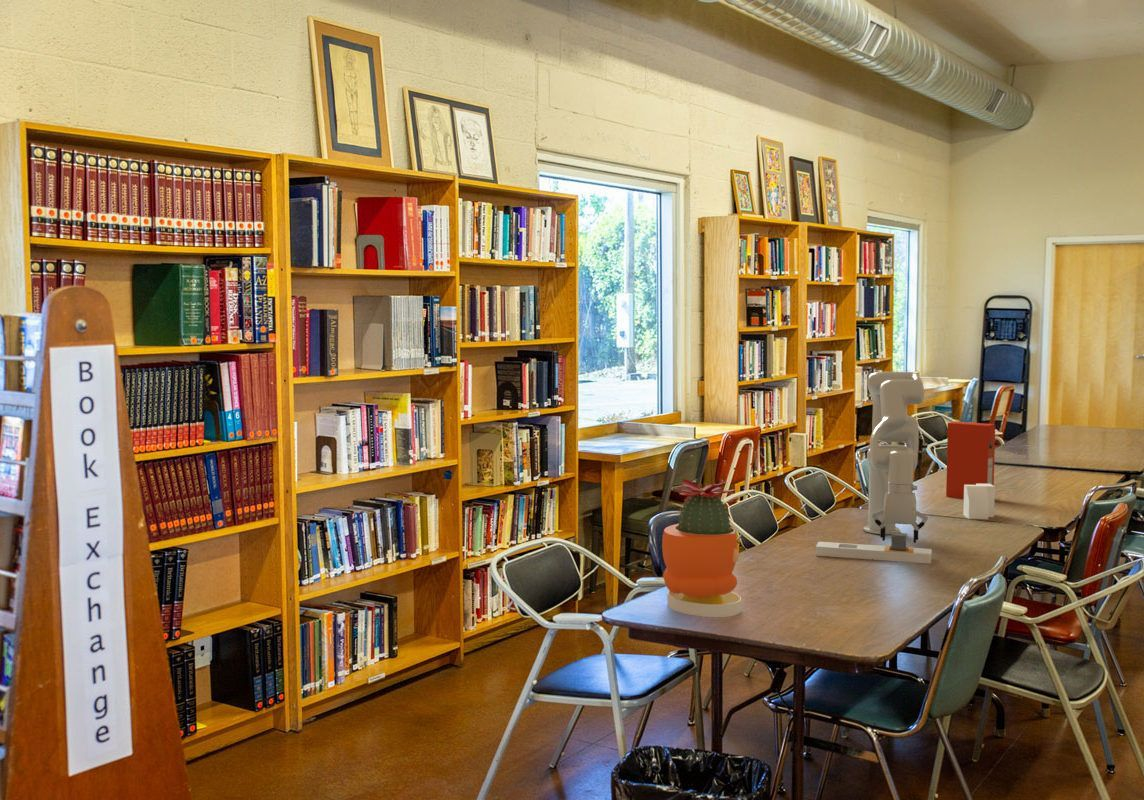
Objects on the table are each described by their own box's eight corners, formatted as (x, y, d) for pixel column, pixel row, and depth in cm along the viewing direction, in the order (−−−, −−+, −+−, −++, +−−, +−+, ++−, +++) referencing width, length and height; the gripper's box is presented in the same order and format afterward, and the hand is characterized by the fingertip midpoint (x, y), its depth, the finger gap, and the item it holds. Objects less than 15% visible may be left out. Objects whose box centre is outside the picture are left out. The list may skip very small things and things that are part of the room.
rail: (818, 550, 364) (818, 540, 364) (931, 558, 353) (931, 548, 352) (815, 555, 357) (815, 545, 357) (931, 563, 345) (931, 553, 345)
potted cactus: (690, 594, 309) (691, 472, 306) (756, 608, 294) (758, 480, 291) (641, 609, 294) (642, 480, 291) (708, 625, 278) (709, 490, 275)
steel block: (892, 556, 355) (892, 532, 354) (906, 557, 353) (906, 533, 353) (891, 559, 351) (891, 535, 350) (905, 560, 349) (905, 536, 349)
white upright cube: (989, 513, 428) (990, 483, 427) (997, 519, 417) (998, 488, 416) (961, 513, 430) (962, 483, 429) (968, 518, 418) (969, 488, 417)
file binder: (985, 501, 455) (987, 425, 452) (945, 496, 467) (947, 422, 464) (993, 499, 461) (995, 424, 458) (953, 494, 473) (955, 421, 470)
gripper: (928, 488, 351) (927, 540, 352) (873, 485, 357) (872, 536, 358) (928, 491, 344) (927, 545, 345) (871, 489, 349) (870, 541, 351)
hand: (899, 541), depth 352 cm, fingers open, 9 cm apart
